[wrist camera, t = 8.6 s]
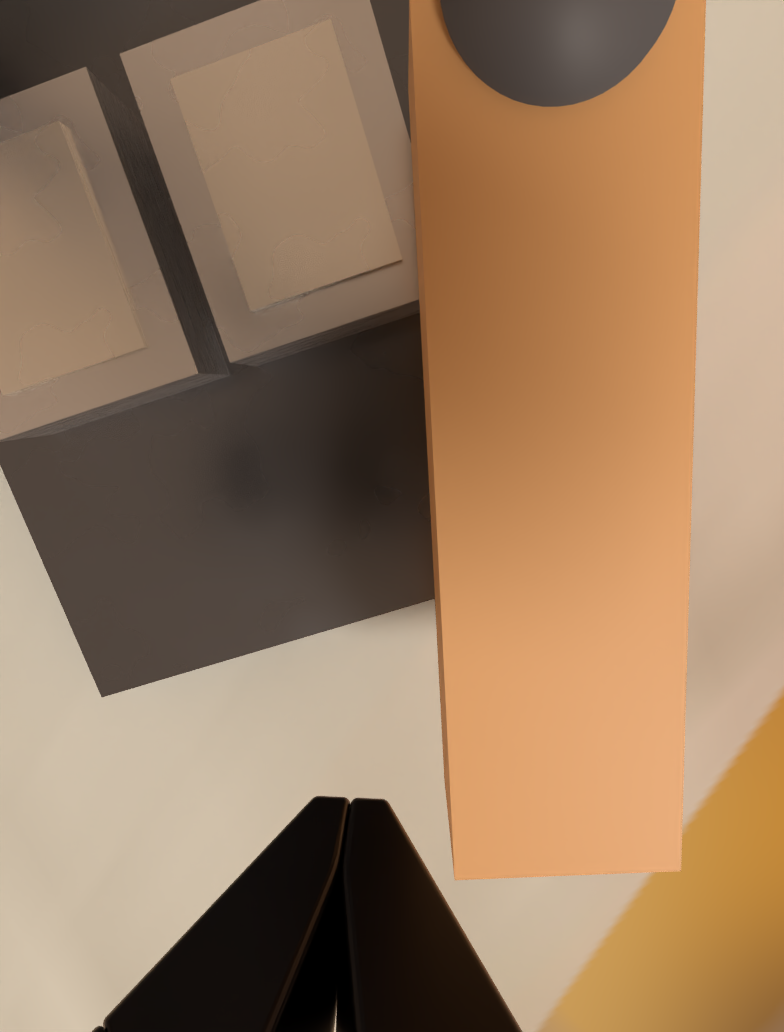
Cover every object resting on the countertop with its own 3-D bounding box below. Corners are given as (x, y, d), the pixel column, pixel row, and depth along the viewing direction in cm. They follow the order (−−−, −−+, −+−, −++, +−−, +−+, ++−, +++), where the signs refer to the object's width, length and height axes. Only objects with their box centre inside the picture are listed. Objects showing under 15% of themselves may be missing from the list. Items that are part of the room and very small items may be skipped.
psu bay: (120, 677, 19) (45, 754, 15) (-203, -78, 15) (-416, -241, 11) (660, 516, 18) (734, 553, 14) (449, -350, 14) (467, -640, 10)
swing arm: (403, -12, 11) (402, -164, 8) (631, -31, 11) (718, -193, 8) (444, 779, 14) (455, 888, 11) (623, 771, 14) (685, 879, 11)
